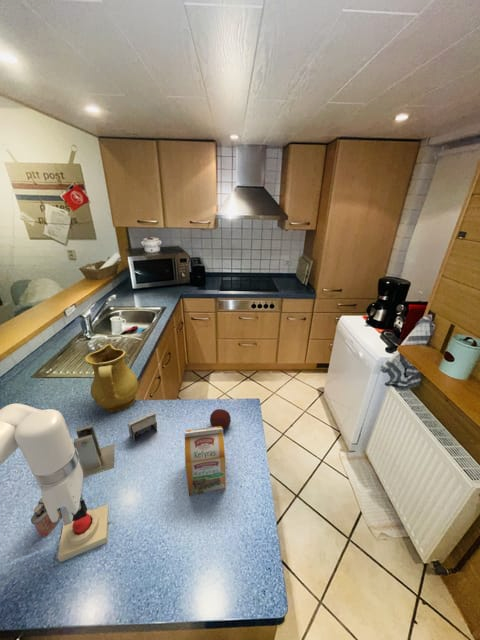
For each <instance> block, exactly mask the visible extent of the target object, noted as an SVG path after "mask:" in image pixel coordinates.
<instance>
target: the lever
mask: <svg viewBox="0 0 480 640" xmlns="http://www.w3.org/2000/svg"><path fill="white" fill-rule="evenodd" d="M92 434H93V433H91V432H89V431H87V430H86V431H84V432H83V433H82V434H80V435H79V436H77V439H78V438H82V437H85V436H89V435H92ZM74 446H75V444H74ZM75 448H76V447H75Z"/></svg>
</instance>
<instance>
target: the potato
mask: <svg viewBox="0 0 480 640" xmlns="http://www.w3.org/2000/svg"><path fill="white" fill-rule="evenodd" d="M231 421H232V420H231V414H230V412H229V411H227V410H225V409H223V408H217V409H214V410H213V411H212V412H211V414H210V416H209V423H210V425H211V426H210V427H218V426H222V428H223V431H224V430H226V429H227V428H228V427H230V425H231Z"/></svg>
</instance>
